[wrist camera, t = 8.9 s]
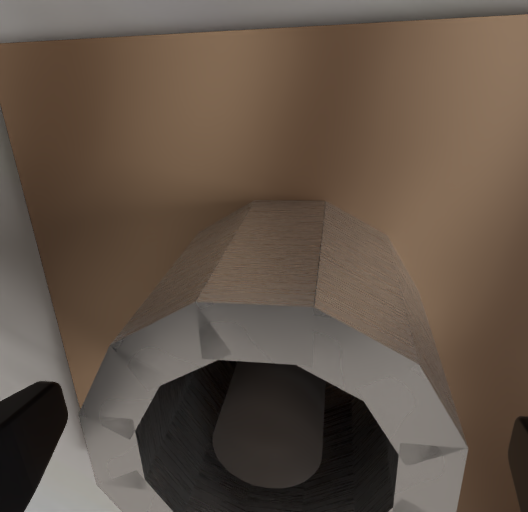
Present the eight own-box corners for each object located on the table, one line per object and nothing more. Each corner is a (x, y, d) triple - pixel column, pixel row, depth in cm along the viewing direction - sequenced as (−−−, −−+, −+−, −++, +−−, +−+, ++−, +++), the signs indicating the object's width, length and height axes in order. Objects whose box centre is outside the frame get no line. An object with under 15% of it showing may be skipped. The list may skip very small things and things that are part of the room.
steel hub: (428, 201, 11) (493, 314, 6) (405, 417, 13) (437, 609, 9) (162, 199, 12) (47, 295, 7) (189, 400, 14) (117, 564, 10)
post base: (634, 10, 9) (964, -34, 4) (512, 495, 15) (596, 717, 10) (12, 44, 12) (-237, 41, 7) (111, 456, 17) (17, 621, 12)
